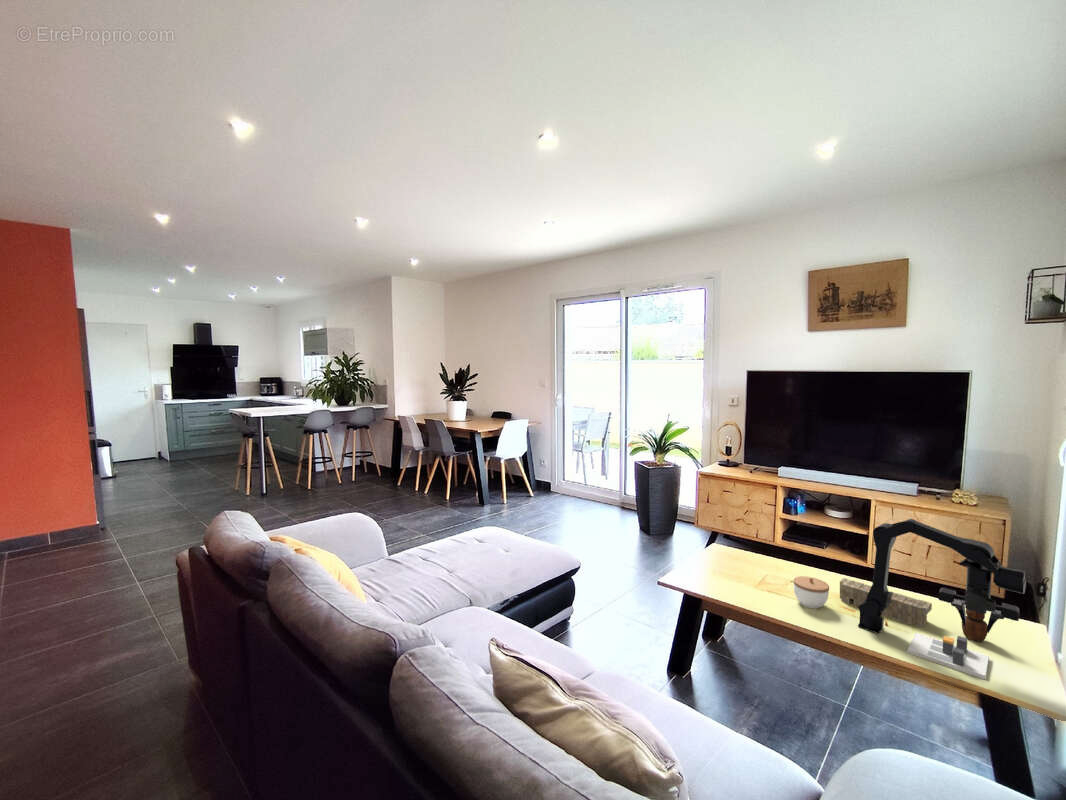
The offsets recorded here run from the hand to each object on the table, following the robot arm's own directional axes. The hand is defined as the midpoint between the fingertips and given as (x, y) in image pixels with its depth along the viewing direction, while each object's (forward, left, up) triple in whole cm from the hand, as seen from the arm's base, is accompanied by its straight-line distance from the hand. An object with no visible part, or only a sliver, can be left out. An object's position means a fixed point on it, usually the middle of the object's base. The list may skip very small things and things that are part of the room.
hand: (976, 629), depth 151 cm
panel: (-6, 0, -12) cm, 14 cm away
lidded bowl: (-49, +5, -12) cm, 51 cm away
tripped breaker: (-7, 0, -10) cm, 12 cm away
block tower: (-28, +21, -12) cm, 38 cm away
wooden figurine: (-1, +20, -12) cm, 24 cm away
